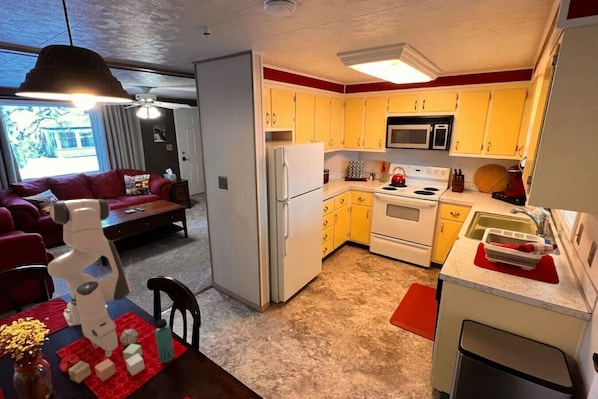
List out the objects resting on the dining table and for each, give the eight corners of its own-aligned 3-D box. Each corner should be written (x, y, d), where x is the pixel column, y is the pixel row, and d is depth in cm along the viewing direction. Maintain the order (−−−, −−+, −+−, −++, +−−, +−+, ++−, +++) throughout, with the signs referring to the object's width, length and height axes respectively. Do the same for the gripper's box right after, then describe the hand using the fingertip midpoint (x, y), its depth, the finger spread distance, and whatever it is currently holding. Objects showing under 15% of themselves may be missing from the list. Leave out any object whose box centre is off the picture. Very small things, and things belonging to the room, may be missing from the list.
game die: (132, 352, 139) (127, 348, 131) (117, 345, 139) (111, 339, 132) (145, 334, 144) (141, 328, 137) (130, 326, 145) (125, 321, 137)
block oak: (70, 379, 120) (68, 369, 119) (83, 370, 125) (80, 360, 124) (78, 383, 119) (76, 373, 117) (91, 373, 123) (88, 364, 122)
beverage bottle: (159, 368, 126) (153, 328, 120) (158, 357, 131) (152, 319, 126) (175, 362, 129) (170, 323, 123) (174, 352, 134) (168, 314, 129)
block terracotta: (96, 376, 122) (94, 366, 120) (109, 367, 126) (107, 358, 125) (103, 381, 119) (100, 371, 118) (115, 372, 123) (113, 363, 122)
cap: (84, 359, 126) (79, 347, 129) (68, 365, 121) (63, 352, 123) (76, 371, 128) (70, 359, 130) (60, 377, 123) (55, 365, 125)
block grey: (127, 369, 125) (125, 360, 124) (139, 362, 129) (137, 353, 127) (132, 376, 122) (130, 366, 120) (144, 368, 126) (142, 358, 124)
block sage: (124, 361, 129) (122, 352, 128) (132, 352, 134) (131, 343, 133) (134, 363, 128) (132, 353, 127) (142, 354, 133) (140, 345, 132)
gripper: (74, 318, 118) (81, 346, 122) (100, 335, 108) (107, 366, 112) (91, 309, 124) (97, 337, 127) (117, 325, 113) (124, 355, 117)
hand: (102, 350), depth 120 cm, fingers open, 8 cm apart
